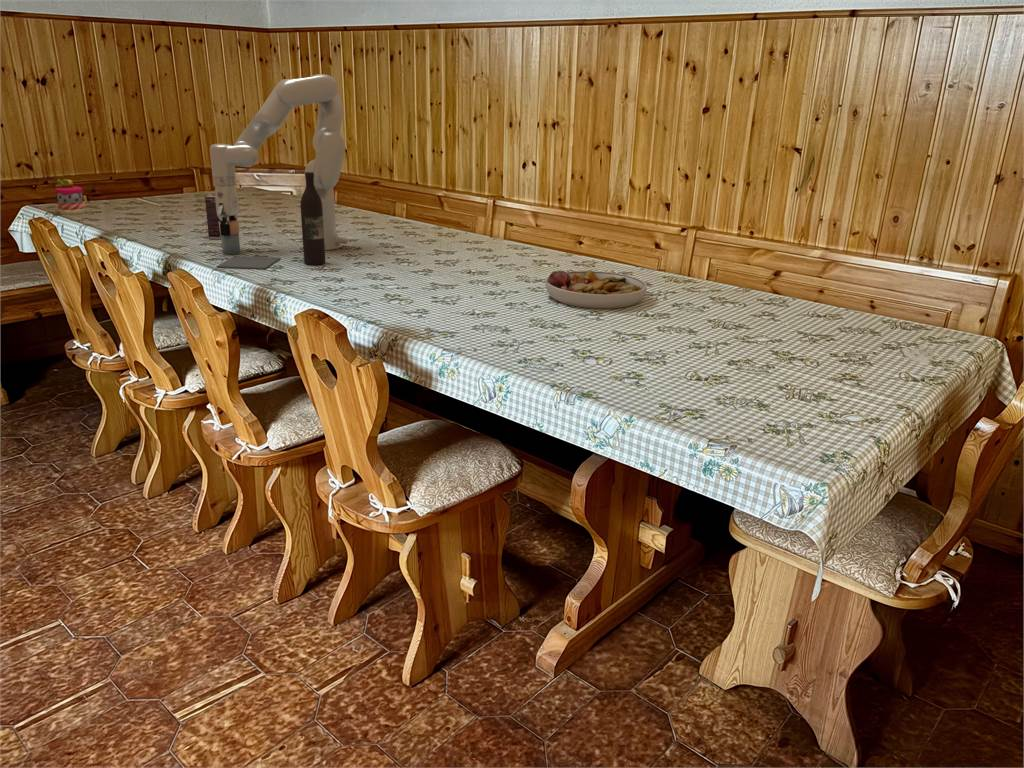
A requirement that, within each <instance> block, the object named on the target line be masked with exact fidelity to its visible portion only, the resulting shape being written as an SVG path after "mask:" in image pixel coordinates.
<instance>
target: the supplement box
mask: <svg viewBox="0 0 1024 768" xmlns="http://www.w3.org/2000/svg"><path fill="white" fill-rule="evenodd" d="M204 201H205V202H204V203H205V212H206V222H207V223H206V224H207V235H208V239H209V240H221V234H220V231H219V219H218V216H217V211H216V200H215V193H214V194H211V195H207V196H204ZM223 215H226V214H223ZM224 218H225V220H226V217H224Z"/></svg>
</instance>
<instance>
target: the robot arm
mask: <svg viewBox="0 0 1024 768" xmlns="http://www.w3.org/2000/svg"><path fill="white" fill-rule="evenodd" d="M337 82H338V81H336V79H335V78H334V77H332V76H331V75H329V74H322V73H317V74H313V75H312V76H308V77H301V78H284V79H280V81H279V82H278V83H277V84H276V85H275V87H273V90H272V91H271V92H270V94H269V95H268V97H267V98H266V100H265V102H264V103H263V104H262V105H261V107H260V108H259V110H258V111H257V112H256V114H255V115H254V116H253V118H252V119H251V120H250V122H249V123H248V124H247V125H246V127H245V128H244V129H243V131H242V132H241V134H240V135H239V136H238V138H237V140H236V141H235V143H234V144H233V145H231V144H230V143H229V144H228V143H214V144H211V145H210V146H209V155H210V156H209V157H210V165H211V175H212V176H211V177H212V185H213V187H215V188H214V192H215V193H214V194H215V200H216V211H217V216H218V219H219V224H220V231H221V235H222V236H230V235H231V234H230V224H228V220H237V221H238V213H240V211H241V209H240V201H239V193H238V190H237V178H236V177H237V176H236V175H237V174H236V168H235V167H236V166H237V167H244V168H245V167H246V168H250V167H252V166H254V165H256V164H257V163H258V160H259V153H258V151H259V149H260V148H261V147H262V145H263V144H264V142H265V141H266V140H267V139H269V137H270V136H272V135H273V134H276V132H277V131H278V130H280V129H281V127H282V126H283V124H284V122H285V121H286V120H287V119H288V116H289V115H290V114H291V112H292V111H293V109H294V108H295V107H297V106H298V107H299V106H305V105H312V104H317V108H318V112H317V113H318V114H317V119H316V120H317V121H316V125H315V130H314V134H313V138H312V146H313V149H314V150H315V158H314V159H312V160H310V161H309V162H308V163H307V164H306V166H305V170H304V173H305V172H313V174H314V186H315V189H316V191H317V193H318V194H319V196H320V198H321V201H322V208H323V226H324V244H325V251H332V250H338V249H340V248H341V247H342V245H343V244H345V245H347V244H348V243H349V239H348V238H346V237H340V236H339V233H337V225H336V223H337V222H336V207H335V206H336V203H335V192H334V187H335V186H336V185H337V183H338V182H339V179H340V175H341V172H342V168H343V167H342V166H343V162H344V157H345V151H346V143H345V140H344V137H343V136H342V135H341V130H342V124H343V118H344V105H343V100H342V97H341V96H340V94H339V85H338V83H337ZM304 180H305V182H306V178H305V177H304ZM223 214H226V215H223ZM224 217H226V220H225V218H224Z"/></svg>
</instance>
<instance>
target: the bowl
mask: <svg viewBox="0 0 1024 768" xmlns="http://www.w3.org/2000/svg"><path fill="white" fill-rule="evenodd" d="M544 281H545V283H544V284H545V285H544V286H545V289H546V292H547V294H548V295H549V296H550V297H551V298H552V299H554V300H555V301H557V302H560V303H562V304H565V305H567V306H572V307H578V308H586V309H595V310H598V309H599V310H608V309H609V310H611V309H612V310H613V309H621V308H626V307H630V306H633V305H635V304H637V303H640V301H641V300H643V299H644V297H645V296H646V293H647V288H648V285H647V283H646V282H645V281H643V280H642V279H639V278H637V277H634V276H630V275H627V274H623V273H616V272H607V271H595V270H592V269H589V270H579V271H578V270H576V271H565V270H558V271H557V270H555V271H553V272H551V273H550V275H549V276H548V277H546V278H545V280H544Z"/></svg>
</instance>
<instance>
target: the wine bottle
mask: <svg viewBox="0 0 1024 768" xmlns="http://www.w3.org/2000/svg"><path fill="white" fill-rule="evenodd" d="M305 178H306V181H305V189H304V191H303V193H302V196H301V198H300V218H301V219H300V220H301V235H302V246H303V247H302V251H303V261H304V262H303V263H304V264H305V265H309V266H320V265H324V264H326V250H325V244H324V226H323V208H322V201H321V198H320V196H319V194H318V193H317V191H316V189H315V186H314V174H313V172H305V171H304V179H305Z"/></svg>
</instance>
